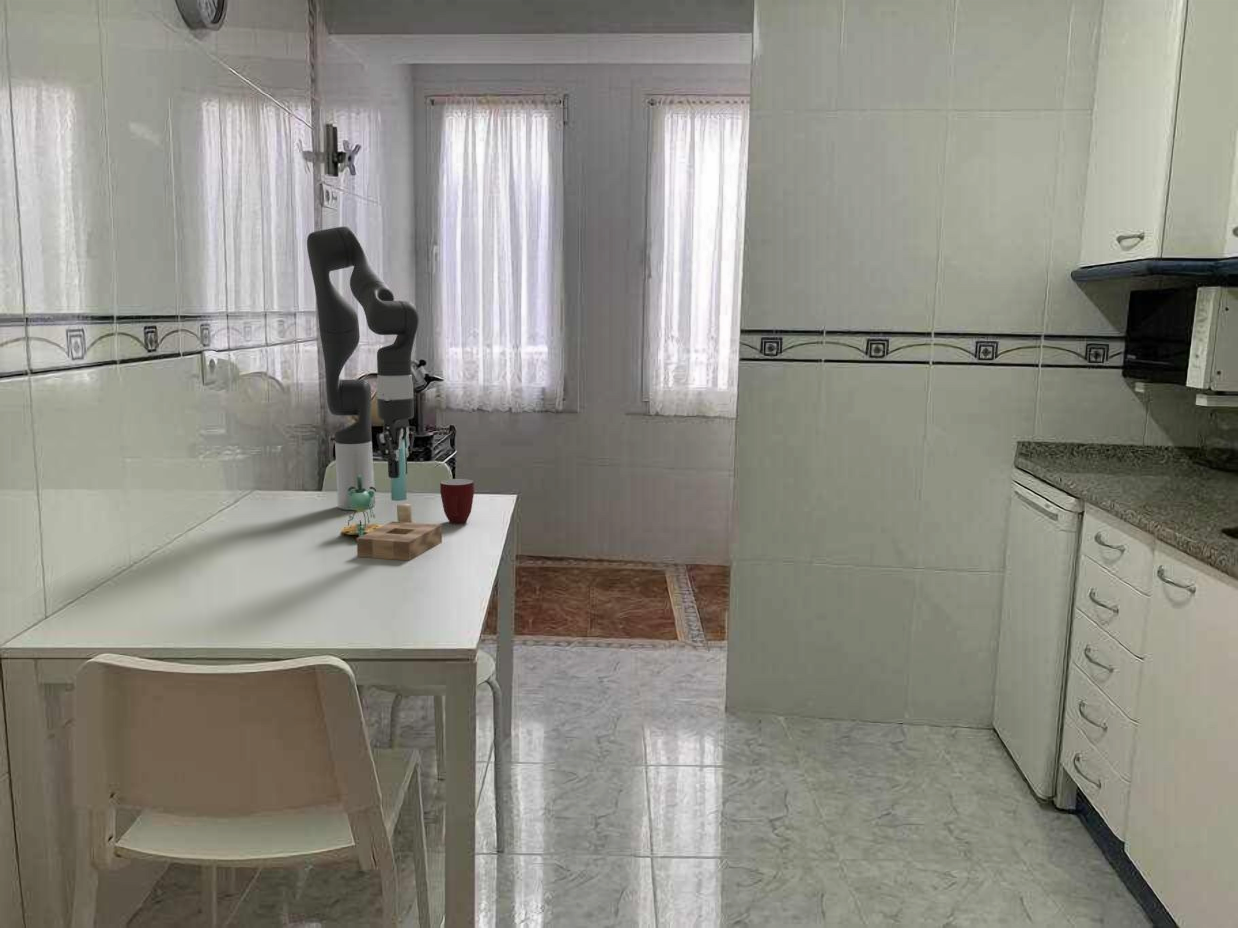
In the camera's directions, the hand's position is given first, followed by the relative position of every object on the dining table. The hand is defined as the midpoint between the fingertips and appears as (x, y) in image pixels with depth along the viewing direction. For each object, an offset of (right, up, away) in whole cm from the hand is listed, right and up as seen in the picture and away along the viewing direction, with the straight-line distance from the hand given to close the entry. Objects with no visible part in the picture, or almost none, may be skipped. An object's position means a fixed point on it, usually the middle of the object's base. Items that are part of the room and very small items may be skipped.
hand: (397, 475), depth 208 cm
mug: (+8, -12, +27) cm, 31 cm away
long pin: (0, -5, +1) cm, 5 cm away
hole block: (0, -16, +3) cm, 16 cm away
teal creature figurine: (-12, -14, +16) cm, 25 cm away
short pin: (-2, -14, +16) cm, 21 cm away
